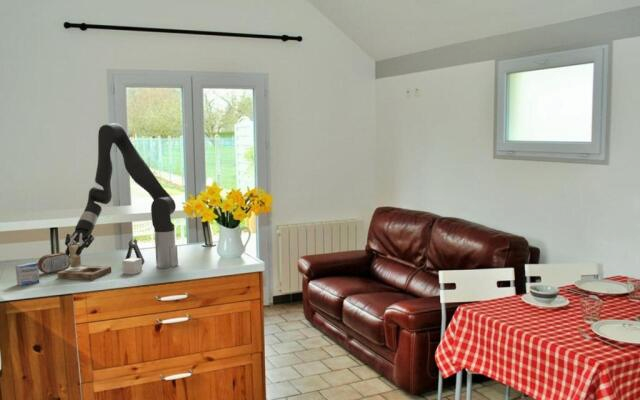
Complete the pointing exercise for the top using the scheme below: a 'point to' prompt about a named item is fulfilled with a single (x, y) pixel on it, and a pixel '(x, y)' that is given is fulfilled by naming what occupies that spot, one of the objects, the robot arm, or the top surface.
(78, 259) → the birch peg
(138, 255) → the dark grey angled piece
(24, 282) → the medicine box
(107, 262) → the top surface
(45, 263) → the tin
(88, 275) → the brown wooden tray
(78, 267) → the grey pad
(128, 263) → the white rounded cube
